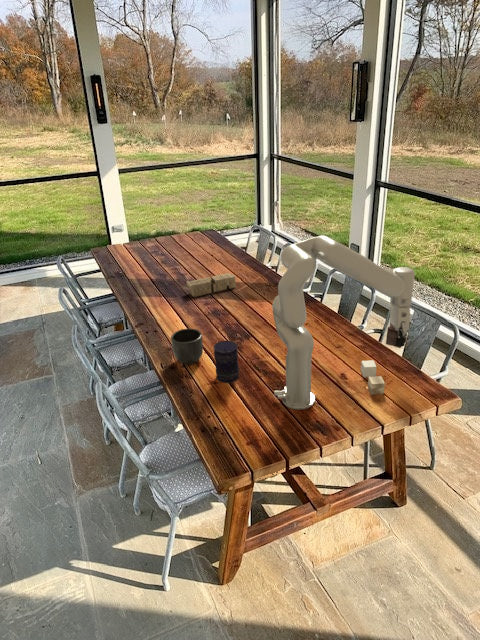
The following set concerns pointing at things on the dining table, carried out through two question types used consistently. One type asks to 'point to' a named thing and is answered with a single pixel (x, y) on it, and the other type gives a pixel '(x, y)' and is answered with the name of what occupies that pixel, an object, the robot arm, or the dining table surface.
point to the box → (392, 336)
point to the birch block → (376, 385)
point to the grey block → (368, 368)
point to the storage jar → (226, 361)
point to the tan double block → (211, 284)
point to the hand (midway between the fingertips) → (396, 340)
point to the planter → (187, 345)
